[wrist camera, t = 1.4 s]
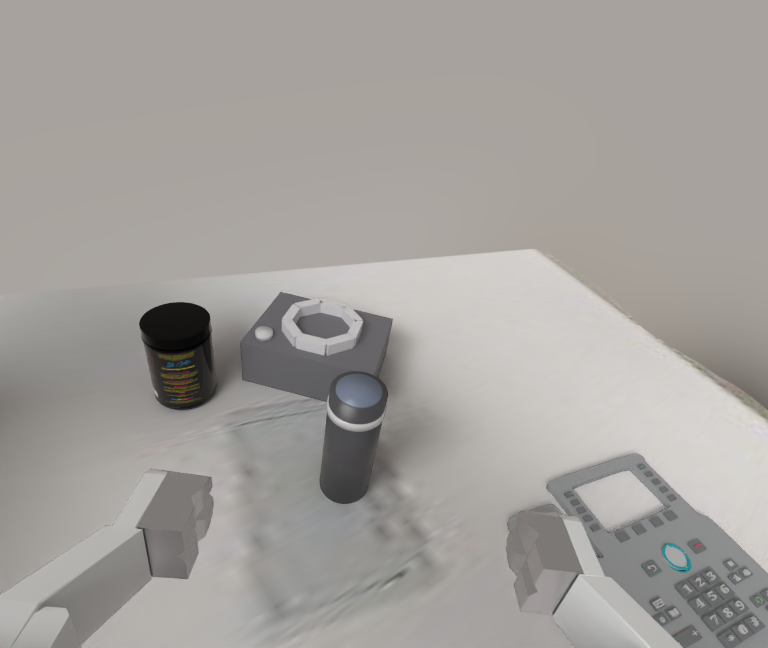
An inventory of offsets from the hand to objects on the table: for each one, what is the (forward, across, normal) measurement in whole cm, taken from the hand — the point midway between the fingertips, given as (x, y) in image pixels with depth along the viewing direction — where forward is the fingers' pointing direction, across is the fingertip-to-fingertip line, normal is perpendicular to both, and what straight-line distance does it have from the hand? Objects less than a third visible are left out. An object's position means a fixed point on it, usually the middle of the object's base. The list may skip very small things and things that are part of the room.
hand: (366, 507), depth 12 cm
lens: (+24, 0, -26) cm, 35 cm away
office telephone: (+18, +30, -28) cm, 45 cm away
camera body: (+41, -5, -25) cm, 48 cm away
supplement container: (+33, -20, -26) cm, 46 cm away
